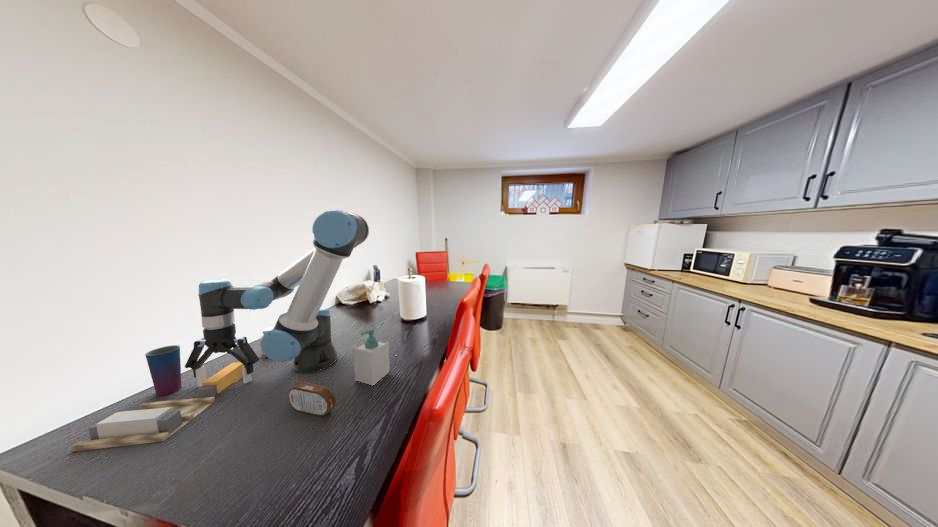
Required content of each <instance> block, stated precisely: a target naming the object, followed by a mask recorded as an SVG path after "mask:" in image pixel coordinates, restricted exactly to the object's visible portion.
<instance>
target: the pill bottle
mask: <svg viewBox="0 0 938 527" xmlns="http://www.w3.org/2000/svg"><path fill="white" fill-rule="evenodd" d="M274 327H275V326H270V327H266V328H264V329H263V330H262V334H263V335H262V336H260V341H261V339H262V337H263V336H264V335H265V334H266V333H267V332H268V331H271V330H273V329H274ZM260 350H261V357H262V358H265V357H267V356H266V355H265V354H264V352H263V351H262V349H261V348H260Z"/></svg>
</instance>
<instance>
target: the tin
mask: <svg viewBox="0 0 938 527" xmlns="http://www.w3.org/2000/svg"><path fill="white" fill-rule="evenodd" d="M287 400H288V402H289V405H290V406H291V407H292V408H293V410H296V411H298V412H300V413H306V414H309V415H313V416H318V417H325V416H326V415H327V414H328V413H330V412H331V411H332V410H333V409H334V408H335V407H336V402H337V401H336V396H335V394H334V393H333V391H332V390H331V389H330V388H328V387H326V386H324V385H319V384H314V383H310V382H304V381H299V382H297V383H296V384H294V385H293V386H292V387H291V388H290V389H289V390H288V391H287Z"/></svg>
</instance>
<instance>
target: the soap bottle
mask: <svg viewBox="0 0 938 527" xmlns="http://www.w3.org/2000/svg"><path fill="white" fill-rule="evenodd" d="M376 329H377V327H376V326H372V327H370V328H367V329H366V330H364V331H361V332H360V335H361V336H362V335H369V336H368V337H367V338H366V341H363V342H361V343H360V344H358V345H356V346H354V347H353V367H354V381H355V380H357V381H361V382H363V383H366V384H369V385H372V386H373V385H375V384H376V383H377V382H378V381H379V380H380V379H381V378H382V377H384V376H385V375H386V374H387V373H388V372H389V371H390V342H389V341H386V340H380V339H377V338H376V336H375V335H374V334H375V331H374V330H376ZM390 372H391V371H390ZM357 381H356V382H357ZM363 383H362V384H363ZM366 384H365V385H366ZM377 384H378V383H377ZM377 384H376V385H377ZM369 385H368V386H369ZM376 385H375V386H376ZM372 386H371V387H372Z"/></svg>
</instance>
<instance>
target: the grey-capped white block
mask: <svg viewBox="0 0 938 527" xmlns="http://www.w3.org/2000/svg"><path fill="white" fill-rule="evenodd" d="M181 424H182V419H181V412H180V410H179V411H173V410H172V407H167V408H156V409H145V410H140V409H136V410H124V411H123V410H122V411H117V412H115V413H112V414H111V415H110V416H107V417H104V418H103V419H101V420H100V421H98V422H96V423H94V424H92V425H91V426H89V427H88V432H89V439H90V440H98V439H107V438H117V437H126V436H135V435H145V434H154V433H164V432H168V433H169V434H170V433H171V432H172V431H173V430H175V429H176V428H177V427H179V426H180V425H181Z"/></svg>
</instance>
